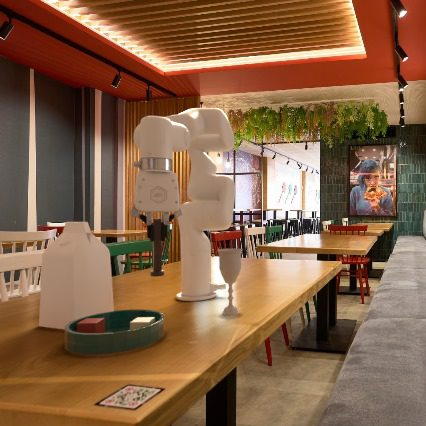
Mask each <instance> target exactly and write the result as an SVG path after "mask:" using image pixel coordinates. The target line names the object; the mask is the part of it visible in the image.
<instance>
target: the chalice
mask: <svg viewBox="0 0 426 426" xmlns="http://www.w3.org/2000/svg"><path fill="white" fill-rule="evenodd" d="M243 250H244V249H243V248H221V249H219V248H218V249H217V253H218V258H219V259H218V263H219V266H218V267H219V271H220V275H221V276H222V279H223V281H224V284H226V285H227V284H228V290H227V293H228V297H227V300H228V305H227V306H225V307H224V308H223V311H222V316H226V317H227V316H228V317H232V316H237V315H239V314H240V313H239V312H240V311H239V310H238V307H237V306H236V305H234V303H233V299H234V298H235V297H234V295H233V292H234V289H233V284H235V283H236V282H237V280H238V277H239V275H240V272H241V269H242V252H243Z"/></svg>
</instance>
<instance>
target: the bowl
mask: <svg viewBox="0 0 426 426" xmlns="http://www.w3.org/2000/svg"><path fill="white" fill-rule="evenodd" d="M137 317H155V322H154V323H152V324H149V325H147V326H143V327H140V328H136V329H131V330H130V322H131V321H133V320H134V319H136V318H137ZM87 318H105V333H78V332H77V323H79V322H81V321H83V320H85V319H87ZM63 332H64V333H63V334H64V335H63V336H64V339H63V340H64V349H65V350H66V351H68V352H70V353H73V354H78V355H106V354H115V353H123V352H127V351H131V350H136V349H139V348H142V347H146V346H149V345H151V344H154V343H156V342H157V341H160V340H161V339H162V338H163V337H164V336H165V334H166V316H165V314H164V313H163V312H161V311H159V310H153V309H141V308H140V309H138V308H137V309H136V308H135V309H132V308H131V309H120V310H119V309H118V310H114V311H109V312H104V313H98V314H93V315H89V316H85V317H82V318H79V319H76V320H74V321H71V322H69V323H68V324H67V325H66V326H65V328H64V329H63Z"/></svg>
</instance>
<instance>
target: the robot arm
mask: <svg viewBox="0 0 426 426" xmlns="http://www.w3.org/2000/svg"><path fill="white" fill-rule="evenodd" d="M133 142H134V144H135V146H136V148H137V149H138V150H139V153H140V154H139V155H140V156H139V157H140V159H139V160H137V161H133V167H134V168H137V169H139V171H136V172H137V173H136V177H135V185H134V196H133V197H134V199H133V200H134V201H133V202H134V203H133V205H132V209H131V210H130V213H129V215H130V216H131V217H133V218H137V219H139V220H141V222H142V223H144V224H145V225H146V239H149V242H150V243H151V242H152V243H153V241H154V226H153V213H161V220H162V226H161V241H162V242H166V238H168V226H169V224H170V223H171V222H172V221H173V220H174V219H177V222H178V228H179V235H180V236H179V237H180V292H178V293H177V294H176V295H175V298H176V300H178V301H183V302H199V301H207V300H211V299H213V298H216V296H217V291H218V290H220V291H221V290H226V289H227V286H226V285H227V283H214V282H212V244H211V241H210V238H209V237H208V236H207V235H206V233H205V232H206V231H226V230H229V229H230V227H231V226H232V223H233V217H234V208H235V201H236V184H235V181H234V178H232V176H230V175H226V174H217V168H218V167H217V164H216V163H215V162H214V160H213V159H212V158H211V157H210V156H209V155H208V154H207V153H209V152H210V153H213V152H214V153H219V152H220V153H227V152H230V151H232V150H233V149H234V147H235V145H236V138H235V133H234V130H233V128H232V126H231V123H230V121H229V118H228V116H227V114H226V113H225V112H224V110H222V109H220V108H218V107H213V108H210V107H209V108H208V107H207V108H206V107H205V108H204V107H202V108H201V107H199V108H198V107H195V108H189V109H187V110H184V111H183V112H182V111H181V112H180V113H178V114H172V115H167V116H159V115H147V116H144V117H142V118H141V119H140V122H139V124H138V125H137V126H136V127H135V129H134V131H133ZM185 151H187V155H188V157H189V160H190V163H191V168H190V169H191V170H190V175H189V178H188V179H189V180H188V184H187V197H188V199H189V201H187V202H184V203H182V204H181V205H180V203H181V202H180V190H179V188H180V187H179V180H178V175H177V173H176V172H174V157H173V156H174V154H173V153H181V152H185ZM206 152H207V153H206ZM143 213H144V214H143ZM204 231H205V232H204Z"/></svg>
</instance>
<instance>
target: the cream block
mask: <svg viewBox="0 0 426 426" xmlns="http://www.w3.org/2000/svg"><path fill="white" fill-rule="evenodd" d="M154 322H155V317H137V318H136V319H134V320H133V321H131V322H130V330H131V329H136V328H140V327H143V326H147V325H149V324H152V323H154Z"/></svg>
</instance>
